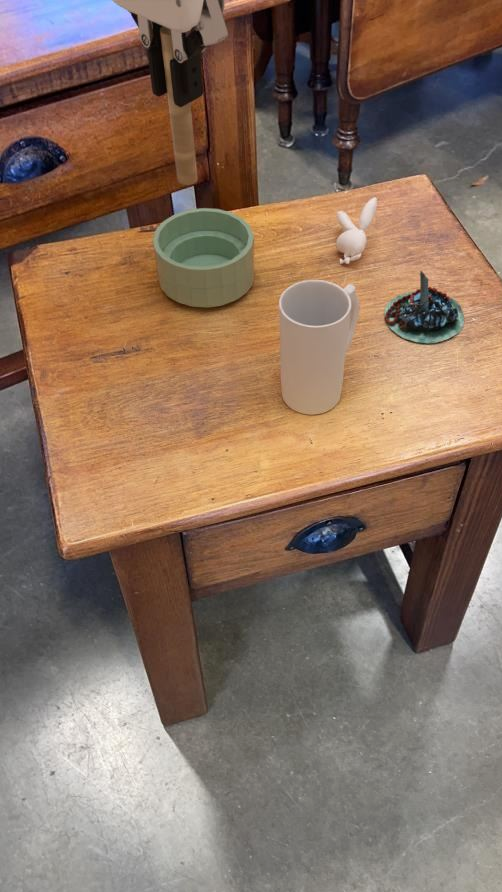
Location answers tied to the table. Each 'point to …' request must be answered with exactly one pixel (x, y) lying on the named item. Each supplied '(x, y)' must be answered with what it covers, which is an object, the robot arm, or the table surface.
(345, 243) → the rabbit figurine
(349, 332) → the mug
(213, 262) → the bowl
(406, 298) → the dish
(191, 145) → the stick
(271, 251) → the table surface
